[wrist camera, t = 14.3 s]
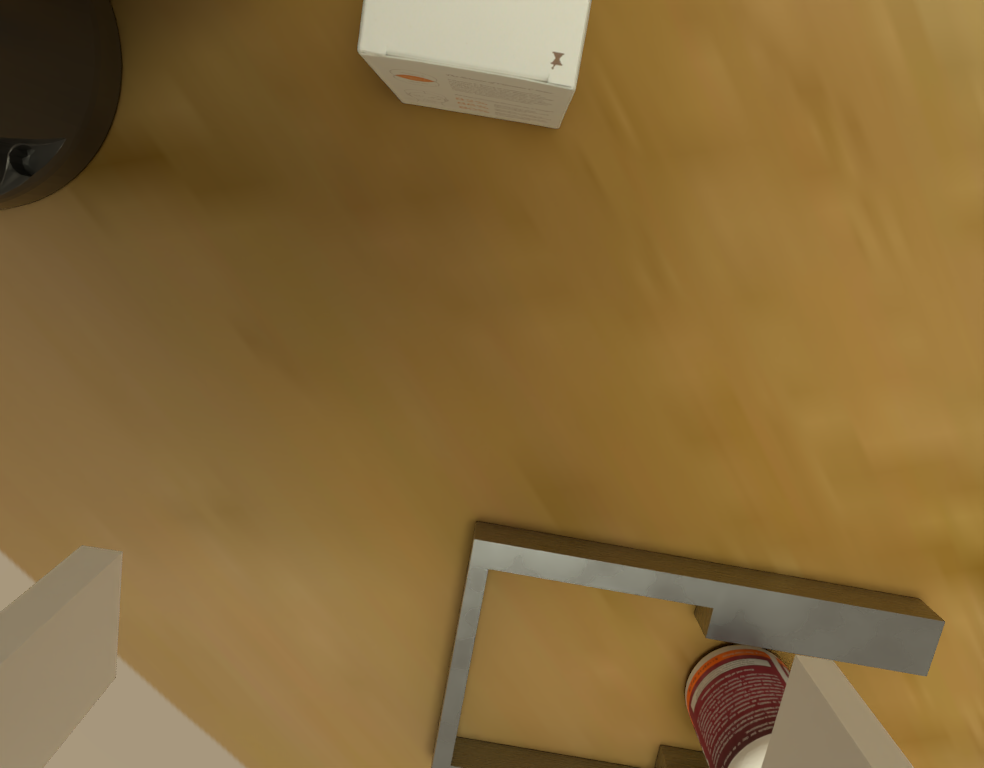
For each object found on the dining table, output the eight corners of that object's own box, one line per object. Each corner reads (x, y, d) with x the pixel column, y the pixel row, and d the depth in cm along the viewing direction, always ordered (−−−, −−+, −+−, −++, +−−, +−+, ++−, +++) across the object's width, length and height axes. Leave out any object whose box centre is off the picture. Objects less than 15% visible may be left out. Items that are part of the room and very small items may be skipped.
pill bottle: (663, 710, 42) (717, 876, 31) (714, 623, 41) (788, 763, 30) (758, 751, 42) (843, 928, 32) (811, 665, 41) (919, 818, 30)
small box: (581, 10, 35) (612, -84, 24) (559, 132, 36) (580, 91, 25) (414, -19, 34) (375, -127, 24) (398, 104, 36) (353, 51, 25)
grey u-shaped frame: (432, 755, 43) (428, 785, 41) (476, 521, 40) (474, 539, 37) (845, 825, 43) (864, 859, 41) (919, 599, 40) (945, 621, 38)
